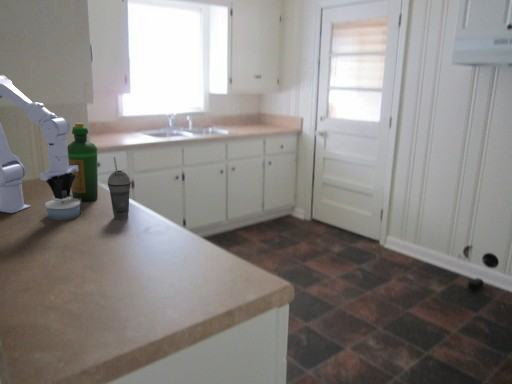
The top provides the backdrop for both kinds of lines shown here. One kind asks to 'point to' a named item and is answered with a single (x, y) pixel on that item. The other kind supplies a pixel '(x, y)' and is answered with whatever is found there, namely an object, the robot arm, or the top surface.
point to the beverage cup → (119, 193)
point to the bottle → (83, 165)
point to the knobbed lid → (63, 196)
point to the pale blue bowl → (63, 209)
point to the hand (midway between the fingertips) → (62, 197)
